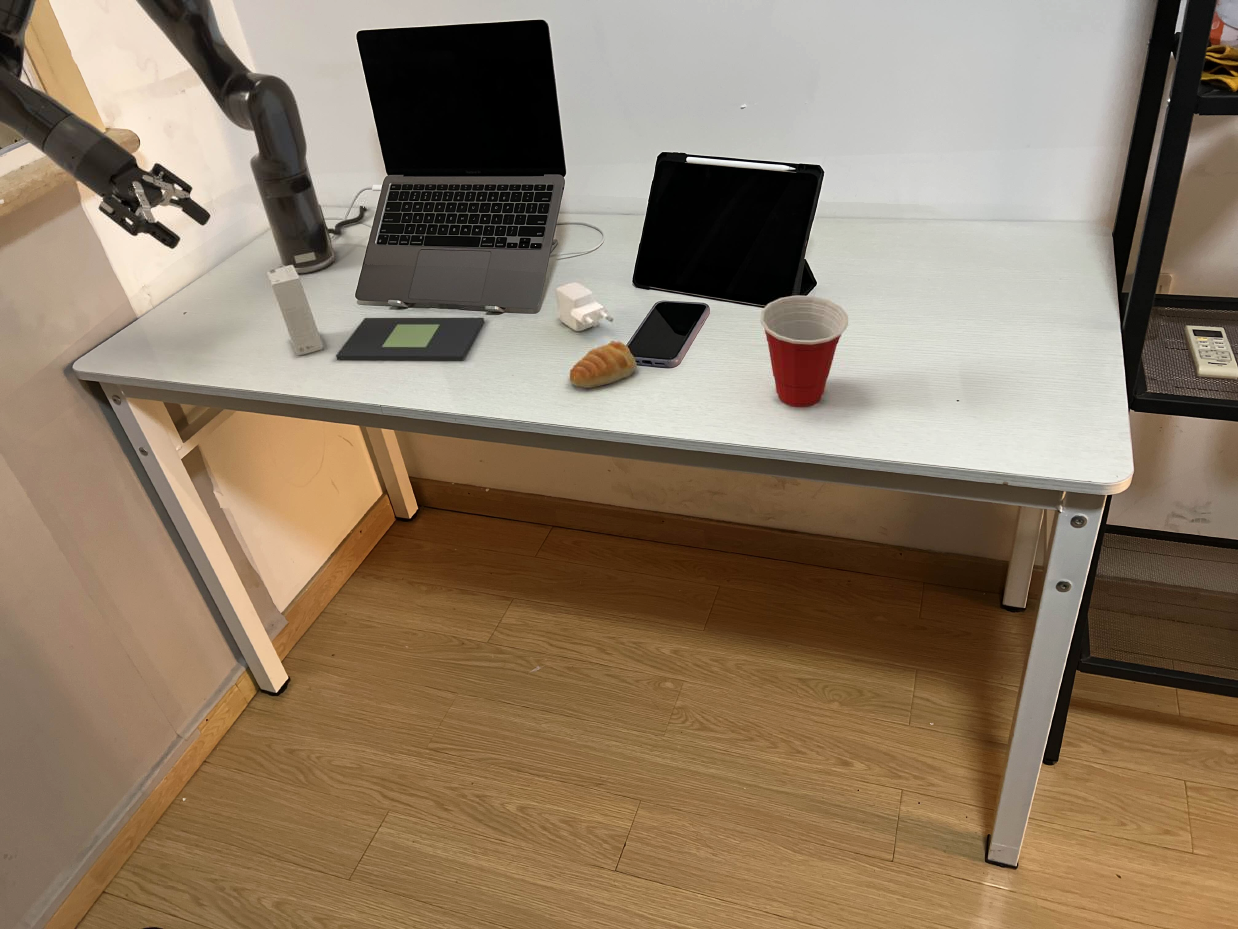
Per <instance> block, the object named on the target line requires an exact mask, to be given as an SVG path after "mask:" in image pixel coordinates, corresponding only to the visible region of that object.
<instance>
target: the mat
mask: <svg viewBox="0 0 1238 929" xmlns="http://www.w3.org/2000/svg"><path fill="white" fill-rule="evenodd" d="M484 323H485V318H484V317H364V319H363V320H362V321H361V322H360V324H359V325H358V326H357V327H356V329H355V330H354V331H353V333H352V334H351V335H350V336H349V338H348V339H347V340H346V342H345V343H343V346H341V348H340V349H339V350H338V352H337V353H336V354H335V357H336V360H337V361H437V362H438V361H439V362H441V361H442V362H443V361H444V362H445V361H446V362H447V361H450V362H453V361H454V362H455V361H456V362H457V361H459V362H461V361H462V362H463V361H464V360H465V359H466V356H467V355H468V352H469V351H470V349H471V347H472V346H473V343H474V342H475V340H476V339H477V336H478V334H479V333H480V331H481V329H482V328H483V325H484Z"/></svg>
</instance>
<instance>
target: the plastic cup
mask: <svg viewBox="0 0 1238 929" xmlns="http://www.w3.org/2000/svg"><path fill="white" fill-rule="evenodd" d="M759 321H760V324H761V326H762V327H763V329H764V333H765V337H766V341H767V344H768V351H769V359H770V365H771V370H772V371H771V372H772V376H773V378H774V384H775V390H776V394H777V397H778V399H779V400H780V402H781V403H783V404H784V405H787V406H790V407H794V408H806V407H812V406H813V405H816V404H818V403H820V400H821V399H822V397H823V395H824V393H825V388H826V384H827V380H828V378H829V376H830V371H831V367H832V364H833V360H834V357H835V353H836V350H837V347H838V344H839V341H840V338H841V337H842V334H843V333H844V332H845V331H846V330H847V328H848V326H849V315H848V314H847V312H846V311H845V310H844V309H843V308H842V306H840V305H839V304H837V303H835V302H833V301H831V300H829V299H826V298H822V297H818V296H815V295H790V296H785V297H779V298H777V299H775V300H773V301H770V302H769V303H767V304H766V305H765V306H764V307H763V309H762V310H761V311H760V320H759Z"/></svg>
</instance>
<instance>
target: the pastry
mask: <svg viewBox="0 0 1238 929" xmlns="http://www.w3.org/2000/svg"><path fill="white" fill-rule="evenodd" d="M637 365H638V364H637V361H636V360H635V357H634V355H633V354H632V353H631V350H630V348H629V347H628V346H627V345H626V344H625V343H623V342H622V341H615V340H611V341H610V342H609V343H607V344H605V345H602V346H598V347H596V348H592V349H591V350H589V351H588V352H587V353H586V355H584V356H583V357H582V358H581V359H580V360H578V362H576V363H575V364H574V365H573V367H572V368H571V369H570V371H569V383H570V384H573V385H574V386H576V387H580V388H584V389H591V388H593V389H594V388H597V387H599V386H606V385H609V384H612V383H616V382H618V381H621V379H623V378H628V377H630V376H631V375H632V374H633V373H634V372H635V371H636V369H637V367H638V366H637Z"/></svg>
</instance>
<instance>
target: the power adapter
mask: <svg viewBox="0 0 1238 929" xmlns="http://www.w3.org/2000/svg"><path fill="white" fill-rule="evenodd" d="M555 297H556V304H557V312H558V317H559V319H560V321H561V322H562V323H564V325H566V326H567V327H569V328H570V329H572V330H574V331H576V332H582V331H584V330H588V329H589V328H591V327H594V328H599V325H600V324H599V323H598V322H597V321H600V320H603V319H605V320H606V321H608V322H610V323H613V321H614V318H613V317H612V316H611V315H609V314H608V312H609V310H608V309H607V308H606V307H605V306H603V305H602V304H600V303H599V302H597V301H595V296H594V294H593V292H592V291H591V290H590V289H588V288H587V287H586V286H584V285H582V284H580V283H579V282H576V281H573V282H572V281H571V282H569V283H566V284H563V285H561V286H559V287H557V288H556V290H555Z"/></svg>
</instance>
